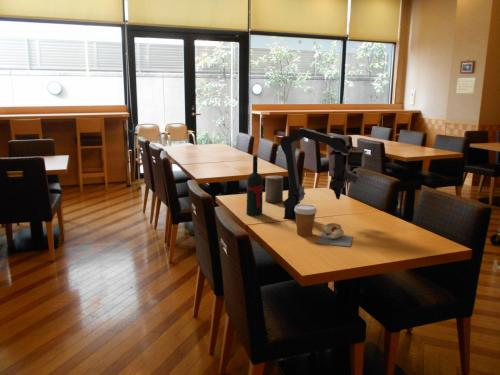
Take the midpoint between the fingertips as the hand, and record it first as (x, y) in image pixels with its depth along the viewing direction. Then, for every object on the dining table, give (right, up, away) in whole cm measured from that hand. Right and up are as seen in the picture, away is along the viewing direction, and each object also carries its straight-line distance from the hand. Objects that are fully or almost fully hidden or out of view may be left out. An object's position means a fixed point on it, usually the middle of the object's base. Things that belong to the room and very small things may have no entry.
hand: (338, 199), depth 200 cm
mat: (-5, -16, -18) cm, 25 cm away
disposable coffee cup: (-17, -15, -11) cm, 25 cm away
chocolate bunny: (-4, -12, -12) cm, 17 cm away
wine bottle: (-37, -8, +17) cm, 42 cm away
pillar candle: (-27, -2, +44) cm, 51 cm away
